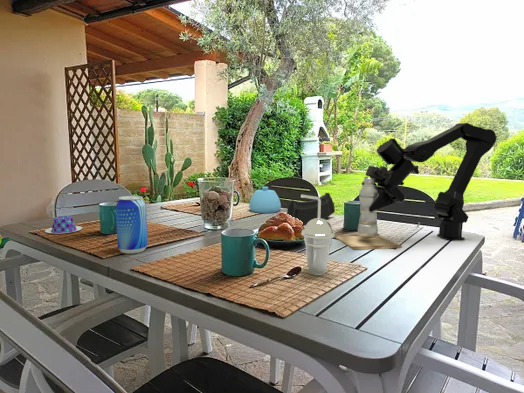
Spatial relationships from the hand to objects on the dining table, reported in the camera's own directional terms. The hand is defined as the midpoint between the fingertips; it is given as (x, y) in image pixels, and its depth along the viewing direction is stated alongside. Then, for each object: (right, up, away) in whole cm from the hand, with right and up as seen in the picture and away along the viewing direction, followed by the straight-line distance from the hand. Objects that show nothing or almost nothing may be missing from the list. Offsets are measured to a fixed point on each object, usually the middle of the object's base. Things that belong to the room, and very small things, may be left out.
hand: (364, 209), depth 123 cm
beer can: (-72, -12, -10) cm, 74 cm away
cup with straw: (-20, -15, -27) cm, 37 cm away
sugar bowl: (-32, -3, +57) cm, 66 cm away
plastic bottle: (+1, -10, +2) cm, 10 cm away
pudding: (-105, -9, +14) cm, 106 cm away
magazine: (-13, -7, +32) cm, 35 cm away
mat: (+1, -11, +2) cm, 11 cm away
